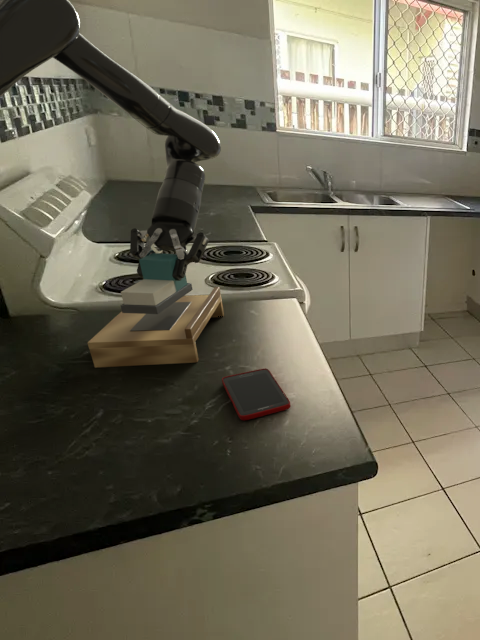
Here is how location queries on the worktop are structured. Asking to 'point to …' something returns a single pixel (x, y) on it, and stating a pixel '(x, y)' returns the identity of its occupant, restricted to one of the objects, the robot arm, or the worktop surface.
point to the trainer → (155, 286)
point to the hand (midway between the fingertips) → (160, 277)
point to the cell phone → (255, 394)
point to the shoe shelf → (156, 334)
